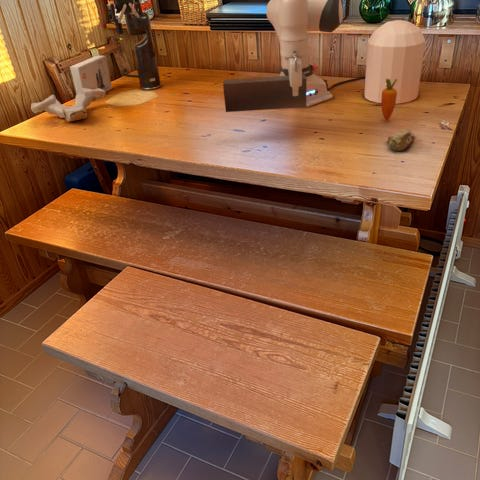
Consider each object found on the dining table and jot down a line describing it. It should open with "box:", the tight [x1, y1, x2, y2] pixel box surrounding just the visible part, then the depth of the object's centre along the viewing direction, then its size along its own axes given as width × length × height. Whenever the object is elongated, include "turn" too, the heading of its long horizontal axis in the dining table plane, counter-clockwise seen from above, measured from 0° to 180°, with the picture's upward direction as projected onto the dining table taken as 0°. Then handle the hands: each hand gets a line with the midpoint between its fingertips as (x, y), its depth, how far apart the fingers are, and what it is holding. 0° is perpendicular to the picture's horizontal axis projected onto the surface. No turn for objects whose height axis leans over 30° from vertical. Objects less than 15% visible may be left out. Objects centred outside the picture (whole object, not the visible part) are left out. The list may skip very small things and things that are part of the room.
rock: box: [387, 129, 416, 152], centre depth 146 cm, size 11×6×10 cm
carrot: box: [380, 79, 397, 122], centre depth 161 cm, size 5×5×15 cm
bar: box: [222, 75, 307, 113], centre depth 153 cm, size 27×5×9 cm, turn 87°
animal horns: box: [30, 88, 107, 123], centre depth 195 cm, size 28×26×12 cm
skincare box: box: [69, 54, 113, 95], centre depth 218 cm, size 21×6×16 cm, turn 158°
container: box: [363, 19, 426, 105], centre depth 179 cm, size 21×21×28 cm
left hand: (129, 31), depth 173 cm, fingers open, 8 cm apart
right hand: (294, 92), depth 152 cm, fingers closed on bar, 5 cm apart
